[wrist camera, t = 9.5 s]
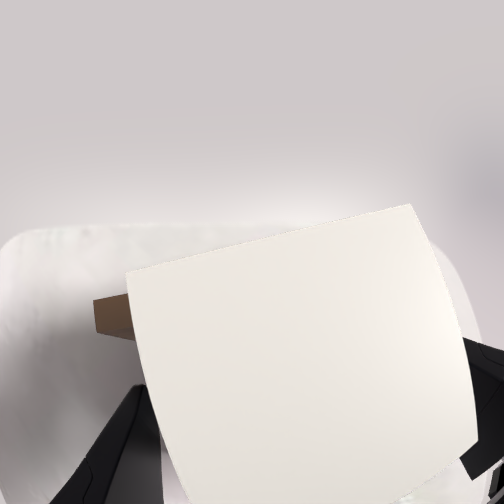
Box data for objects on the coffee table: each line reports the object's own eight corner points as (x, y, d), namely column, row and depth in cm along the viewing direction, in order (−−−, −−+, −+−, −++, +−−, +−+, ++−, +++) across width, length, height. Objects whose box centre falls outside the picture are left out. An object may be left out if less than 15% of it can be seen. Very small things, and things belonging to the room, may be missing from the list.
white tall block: (310, 387, 15) (477, 440, 2) (235, 410, 14) (220, 556, 2) (288, 317, 16) (410, 203, 4) (214, 337, 16) (125, 272, 3)
